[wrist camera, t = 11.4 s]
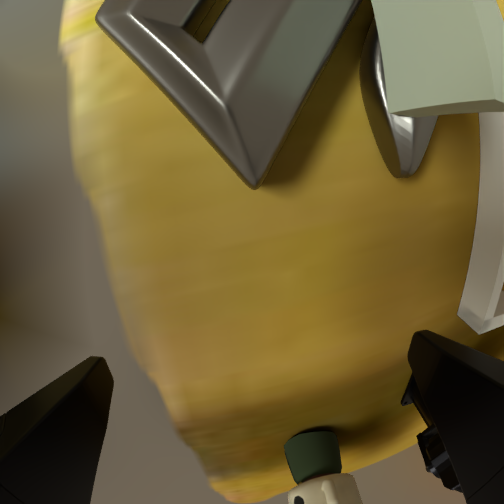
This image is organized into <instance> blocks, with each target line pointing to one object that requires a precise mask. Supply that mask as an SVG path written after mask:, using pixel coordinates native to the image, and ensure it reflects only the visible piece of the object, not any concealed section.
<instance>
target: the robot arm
mask: <svg viewBox="0 0 504 504" xmlns="http://www.w3.org/2000/svg"><path fill="white" fill-rule="evenodd" d="M408 362H409V364H410V367H411V369H412V375H411V378H410V380H409V383H408V385H407V388H406V390H405V393H404V395H403V398H402V400H401V404H402V406H405V405H408V404H411V403H414V405H415V407H416V408H417V410H418V411H419V413H420V415H421V416H422V418H423V420H424V421H425V423H426V425H427V426H428V428H427V429H426V430H424V431H423V432H422V433H419V434H418V435H417V439H418V445H419V447H420V450H421V453H422V455H423V458H424V462H425V466H426V470H427V472H431V473H433V474H434V475H435V476H436V477H437V478H441V480H442V482H443V485H444V487H446V488H448V489H450V490H456V491H459V492H462V493H463V494H464V497H465V500H466V503H467V504H504V361H501V360H499V359H497V358H494V357H492V356H489V355H487V354H484V353H482V352H480V351H477V350H475V349H472V348H470V347H467V346H465V345H463V344H460V343H458V342H455V341H453V340H451V339H448V338H446V337H443V336H441V335H438V334H436V333H434V332H431V331H429V330H421V331H417V332H415V333H414V335H413V337H412V341H411V344H410V347H409V351H408ZM113 386H114V380H113V377H112V374H111V372H110V370H109V367H108V365H107V363H106V360H105V359H104V358H103V357H97V356H90V357H89V358H87V359H86V360H84V361H83V362H81V363H80V364H78V365H77V366H75V367H74V368H72V369H71V370H69V371H68V372H66V373H65V374H63V375H62V376H60V377H59V378H57V379H56V380H54V381H53V382H51V383H50V384H48V385H46V386H45V387H44V388H42V389H40V390H39V391H37V392H36V393H35V394H33V395H31V396H30V397H28V398H27V399H26V400H24V401H22V402H21V403H19V404H18V405H17V406H15V407H14V408H12V409H11V410H9V411H8V412H7V413H4V414H3V415H2V416H0V504H90V501H91V495H92V491H93V485H94V481H95V475H96V471H97V466H98V462H99V457H100V453H101V449H102V445H103V441H104V437H105V433H106V429H107V423H108V417H109V410H110V404H111V397H112V392H113Z"/></svg>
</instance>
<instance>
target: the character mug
mask: <svg viewBox="0 0 504 504" xmlns="http://www.w3.org/2000/svg"><path fill="white" fill-rule="evenodd" d="M284 449H285V451H284V452H286V453H285V455H286V459H287V462H288V465H289V468H290V471H291V473H292V476H293V478H294V481H295V482H296V483H297V484H298V486H296V487H294V488H292V489H291V490H290V491H289V492H288V501H289V504H363V503H362V500H361V497H360V494H359V491H358V488H357V485H356V482H355V479H354V477H353V476H352V475H350V474H347V473H341V469H342V465H341V457H340V450H339V445H338V440H337V436H336V435H335V434H334V433H333V432H327V431H320V432H310V433H304V434H299V435H297V436H295V437H293V438H291V439H289V440H288V442H287V443H286V444H285V445H284ZM340 473H341V474H340Z"/></svg>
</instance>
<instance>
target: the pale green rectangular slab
mask: <svg viewBox="0 0 504 504" xmlns="http://www.w3.org/2000/svg"><path fill="white" fill-rule="evenodd" d="M371 2H372V6H373V11H374V15H375V20H376V25H377V30H378V35H379V41H380V47H381V53H382V60H383V67H384V75H385V84H386V93H387V105H388V113H389V114H396V115H403V116H410V117H416V118H417V117H426V116H436V115H447V114H461V113H480V112H504V21H503V18H502V15H501V13H500V10H499V7H498V4H497V2H496V0H371Z"/></svg>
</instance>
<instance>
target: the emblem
mask: <svg viewBox="0 0 504 504" xmlns="http://www.w3.org/2000/svg"><path fill="white" fill-rule="evenodd" d="M215 2H216V0H105V1H104V2H103V4H102V5H101V7H100V8H99V10H98V12H97V13H96V16H95V21H96V23H97V25H98V26H99V27H100V28H101V30H102V31H103V32H104V33H105V34H106V35H107V36H108V37H109V38H110V39H111V40H112V41H113V42H114V43H115V44H116V45H117V46H118V47H119V48H120V49H121V50H122V51H123V52H124V53H125V54H126V55H127V56H128V57H129V58H130V59H131V60H132V61H133V62H134V63H135V64H136V65H137V66H138V67H139V68H140V69H141V70H142V71H143V72H144V73H145V74H146V75H147V76H148V78H149V79H150V80H151V81H152V82H153V83H154V84H155V85H156V86H157V87H158V88H159V89H160V90H161V91H162V92H163V93H164V94H165V95H166V97H167V98H168V99H169V100H170V101H171V102H172V103H173V104H174V105H175V106H176V107H177V108H178V109H179V111H180V112H181V113H182V114H183V115H184V116H185V117H186V118H187V119H188V120H189V122H190V123H191V124H192V125H193V126H194V127H195V128H196V129H197V130H198V131H199V133H200V134H201V135H202V136H203V137H204V138H205V139H206V140H207V142H208V143H209V144H210V145H211V146H212V147H213V148H214V149H215V151H216V152H217V153H218V154H219V155H220V156H221V157H222V158H223V160H224V161H225V162H226V163H227V164H228V165H229V166H230V168H231V169H232V170H233V171H234V172H235V173H236V174H237V176H238V177H239V178H240V179H241V180H242V181H243V182H244V183H245V184H246V185H247V186H248V187H249V188H251V189H252V190H257V189H258V188H259V187H260V185H261V184H262V182H263V181H264V179H265V177H266V175H267V174H268V172H269V170H270V168H271V166H272V164H273V162H274V160H275V158H276V157H277V155H278V153H279V151H280V149H281V147H282V145H283V143H284V141H285V139H286V138H287V136H288V134H289V132H290V130H291V128H292V126H293V124H294V123H295V121H296V119H297V117H298V115H299V113H300V111H301V110H302V108H303V106H304V104H305V102H306V100H307V98H308V97H309V95H310V93H311V91H312V89H313V87H314V86H315V84H316V82H317V80H318V78H319V76H320V75H321V73H322V71H323V69H324V67H325V66H326V64H327V62H328V60H329V58H330V57H331V55H332V53H333V51H334V49H335V48H336V46H337V44H338V42H339V40H340V39H341V37H342V35H343V33H344V32H345V30H346V28H347V26H348V24H349V23H350V21H351V19H352V17H353V16H354V14H355V12H356V10H357V9H358V7H359V5H360V3H361V2H362V0H230V1H229V2H228V4H227V5H226V7H225V8H224V10H223V11H222V13H221V14H220V16H219V17H218V19H217V20H216V22H215V24H214V25H213V27H212V28H211V30H210V32H209V33H208V35H207V37H206V38H205V40H204V41H203V43H200V42H199V41H198V40H197V39H196V38H194V37H193V35H194V33H195V32H196V30H197V29H198V27H199V25H200V24H201V22H202V21H203V19H204V18H205V16H206V15H207V13H208V12H209V10H210V9H211V7H212V6H213V4H214V3H215ZM359 75H360V87H361V93H362V98H363V102H364V106H365V109H366V113H367V116H368V120H369V123H370V126H371V129H372V132H373V135H374V137H375V140H376V143H377V146H378V148H379V151H380V153H381V155H382V158H383V160H384V162H385V164H386V166H387V168H388V169H389V171H390V172H391V174H392V175H393V176H394V177H396V178H407V177H409V176H411V175H412V174H413V173H414V172H415V171H416V170H417V168H418V167H419V165H420V163H421V161H422V158H423V156H424V154H425V151H426V149H427V146H428V143H429V141H430V138H431V135H432V132H433V130H434V127H435V124H436V121H437V118H438V115H436V116H426V117H417V118H416V117H410V116H403V115H396V114H389V113H388V105H387V93H386V84H385V75H384V67H383V60H382V53H381V47H380V41H379V35H378V30H377V25H376V20H375V16H374V18H373V21H372V23H371V26H370V28H369V31H368V33H367V36H366V39H365V42H364V46H363V49H362V54H361V59H360V70H359Z"/></svg>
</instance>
